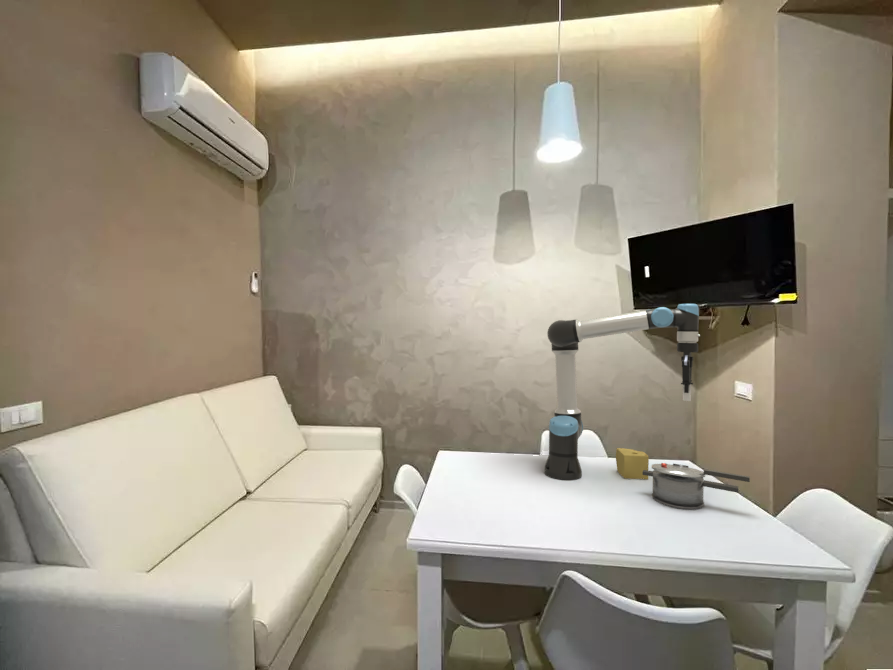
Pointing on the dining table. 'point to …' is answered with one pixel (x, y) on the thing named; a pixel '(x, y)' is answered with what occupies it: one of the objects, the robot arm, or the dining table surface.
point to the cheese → (631, 463)
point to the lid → (695, 472)
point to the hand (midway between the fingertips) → (686, 400)
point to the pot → (682, 490)
